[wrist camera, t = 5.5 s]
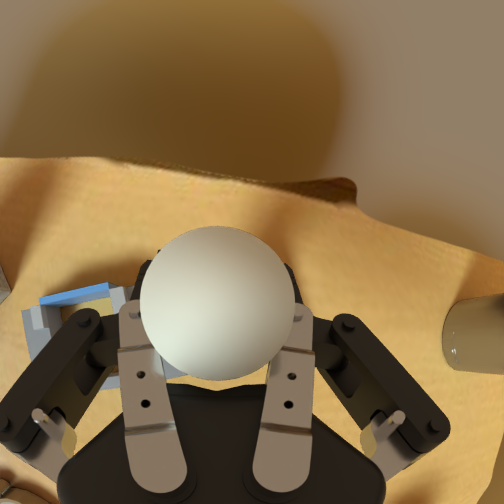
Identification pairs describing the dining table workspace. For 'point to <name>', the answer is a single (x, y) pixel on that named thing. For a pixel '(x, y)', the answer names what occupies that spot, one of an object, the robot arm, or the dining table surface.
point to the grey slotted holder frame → (49, 322)
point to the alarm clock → (18, 496)
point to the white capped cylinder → (217, 303)
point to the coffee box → (3, 286)
